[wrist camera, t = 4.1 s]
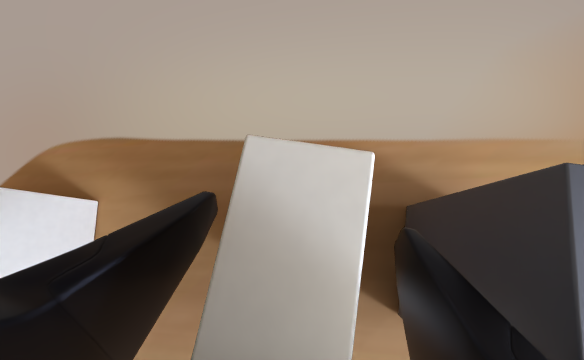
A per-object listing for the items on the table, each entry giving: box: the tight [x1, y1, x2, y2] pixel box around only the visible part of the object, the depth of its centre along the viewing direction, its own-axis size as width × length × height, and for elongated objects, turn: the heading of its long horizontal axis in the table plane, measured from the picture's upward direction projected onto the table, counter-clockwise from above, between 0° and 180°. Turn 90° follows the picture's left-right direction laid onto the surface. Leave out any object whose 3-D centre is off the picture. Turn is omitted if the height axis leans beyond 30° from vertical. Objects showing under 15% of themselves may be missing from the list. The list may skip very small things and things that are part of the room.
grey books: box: [398, 163, 584, 360], centre depth 9 cm, size 7×5×10 cm
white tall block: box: [191, 135, 375, 360], centre depth 10 cm, size 6×3×11 cm, turn 170°
